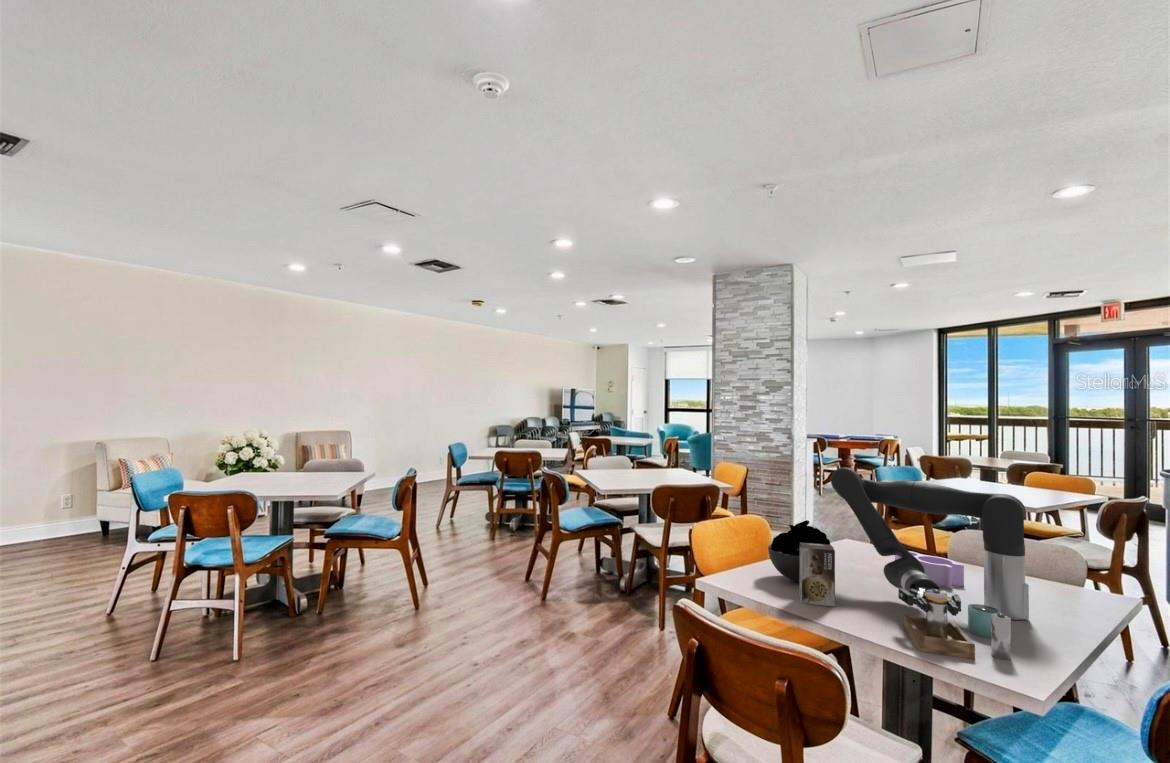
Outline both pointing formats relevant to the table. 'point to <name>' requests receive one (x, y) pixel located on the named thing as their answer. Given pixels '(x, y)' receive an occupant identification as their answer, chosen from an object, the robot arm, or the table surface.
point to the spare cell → (1001, 636)
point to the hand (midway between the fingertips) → (940, 609)
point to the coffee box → (817, 574)
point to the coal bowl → (793, 548)
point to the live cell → (936, 614)
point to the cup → (980, 619)
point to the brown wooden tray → (939, 639)
